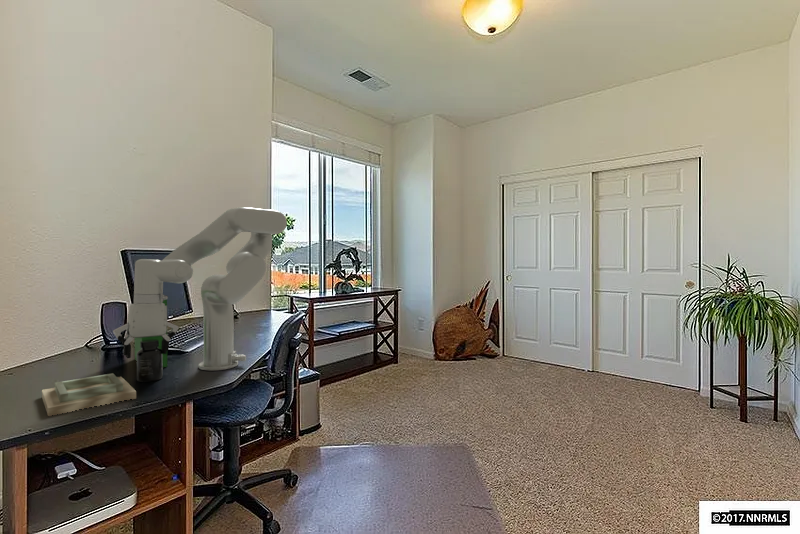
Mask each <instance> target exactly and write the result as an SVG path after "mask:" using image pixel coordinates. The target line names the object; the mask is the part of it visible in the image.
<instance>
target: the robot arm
mask: <svg viewBox="0 0 800 534" xmlns="http://www.w3.org/2000/svg"><path fill="white" fill-rule="evenodd" d="M287 224H288V222H287V218H286V216H285V215H284V214H283V213H282V212H281V211H279V210H276V209H275V210H274V209H263V208H255V207H247V206H246V207H244V206H243V207H242V206H241V207H233V208H230V209H227V210H226V211H225V212H223V213H222V214H221V215H219V216H218V217H217V218H215V219H214V221H212V222H211V223H210V224H209V225H208V226H205V228H204V229H203V230H201V231H200V232H199V233H197V234H195V235H193V236H192V237H191V238H190V239H189V240H187V241H185V242H184V243H182V244H181V245H179V246H177V248H176V247H175V249H174V250H172V251H171V252H170V253H169V254H168V255H166V256H165V257H164V258H163V259H162V260H160V259H150V258H148V259H147V258H141V259H140V258H139V259H137V260H136V261H135V262H134V280H133V281H134V286H133V290H134V291H133V303H130V304H129V308H128V313H127V319H126V323H125V324H124V325H121V326H119V327H117V328H115V329H113V331H112V333H113V335H114V336H115V337H116V339H117V340H118V341H120V342H121V343H122V344H123V356H125V358H126V359H130V358H131V357H132V355H131V354H132V345H131V342H132V341H133V340H135V338H142V337H154V336H161V337H162V338H163V340H162V347H161V350H162V353H163V354H167V355H168V351H169V344H170V343H169V342H170V341H171V340H172V338H173V337H175V335H176V333H177V332H178V329H179V328H180V327H179V325H176V324H173V323H171V322H169V321H168V316H167V317H166V309H165V304H164V303H162V302H163V301H164V300H167V301H168V299H169V297H168V295H166V294H164V293H163V292H164V291H163V290H164V283H172V284H184V283H186V282H188V281H190V280H191V278H192V277H193V275H194V269H193V266H192V265H193V264H196V262H199V261H200V260H202V259H204V258H207V257H209V256H210V257H211V256H212V255H215V254H217V253H219V252H220V251H221V250H222V249H223V248H225V247H226V246H227V245H228V244H229V243H230V242H231V241H233V239H235V237H237V236H238V235H239V234H240V233H250V238H249V239H248V241H247V242H246V243H245V244H244V245H243V247H241V249H239V250H238V251H237V252H236V253H235V254H234V255H233V256H232V257H230V258H229V260H228V262H227V263H226V266H225V271H226V272H227V274H212V275H209V276H208V277H206V278H205V279H204V280H203V282H202V284H201V287H200V296H201V301H202V309H203V316H202V317H203V361H201V362H199V363H198V368H199V370H202V371H212V372H213V371H222V370H229V369H233V368H234V367H237V366H238V365H239V362H246V361H247V356H246V355H245V354H238V353H237V350H234V347H235V345H234V332H235V331H234V328H235V325H234V322H235V321H234V319H235V318H234V307H233V305H235V304H237V303H239V302H240V301H242V300H243V299H244V298H245V297H246V296H247V295H248V294H249V293H250V292H251V291H252V290H253V289H254V288H255V287H256V286H257V285H258V284H259V283H260V281H261V280H262V279H263V277H264V276H265V273H266V271H267V265H266V264H267V263H266V261H265V259H266V258H267V257H268V256H269V254H270V253H271V251H272V248H273V235H279V234H281V233H283V232H284V231H285V230H286V228H287ZM168 327H169V328H171V330H170V332H168ZM124 331H125V332H126V337H125V338H124V337H123V336H122V334H121V333H122V332H124ZM166 332H167V334H166Z"/></svg>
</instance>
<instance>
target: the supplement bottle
mask: <svg viewBox="0 0 800 534" xmlns="http://www.w3.org/2000/svg"><path fill="white" fill-rule="evenodd" d="M158 346H159V341H158V340H156V339H151V340H143V341H141V342H140V348H141V350H139V351H138V352H137V362H136V381H137V382H139V383H151V382H157V381H160V380H161V379H162V378H163V374H164V373H163V371H164V370H163V368H164V367H163V360H162V350H161V349H160V348H158Z"/></svg>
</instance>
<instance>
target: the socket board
mask: <svg viewBox="0 0 800 534" xmlns="http://www.w3.org/2000/svg"><path fill="white" fill-rule="evenodd" d="M41 398H42V402H43V405H44V408H45V411H46V414H47V416H48V417H53V416H57V414H58V415H63V414H66V413H67V412H68V413H71V412H72V411H73V412H76V411H75V410H77V411H80V410H79V409H82V410H85V409H84V408H87V409H90V408H89V407H92V408H95V407H94V406H97V407H101V406H100V405H102V406H106V405H105V404H107V405H110V403H112V404H115V403H114V402H117V403H120V402H119V401H122V402H125V401H124V400H127V401H131V400H130V399H132V400H137V391H136V390H135V388H134V387H133V386H132V385H130V383H129V382H128V381H127V380H125V378H123V377H122V376H116V375H115V374H114V373H113V372H112V373H107V374H99V375H94V376H87V377H81V378H76V379H71V380H64V381H56V382H54V387H51V388H45V389H42V390H41ZM62 413H63V414H62ZM52 415H53V416H52Z"/></svg>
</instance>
